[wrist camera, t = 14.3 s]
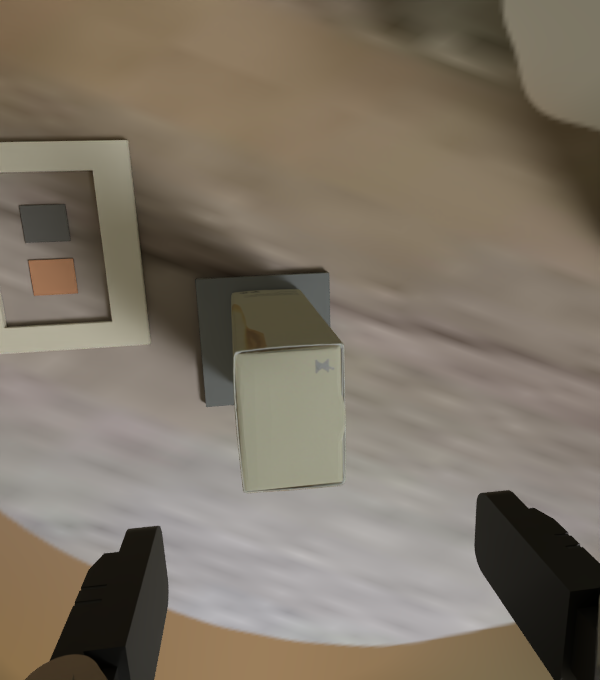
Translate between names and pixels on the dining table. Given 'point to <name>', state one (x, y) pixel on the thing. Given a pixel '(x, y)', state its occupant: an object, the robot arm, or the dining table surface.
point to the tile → (219, 321)
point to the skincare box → (287, 393)
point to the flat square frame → (52, 226)
